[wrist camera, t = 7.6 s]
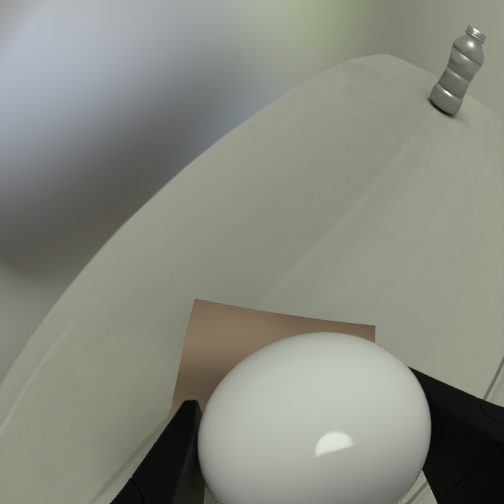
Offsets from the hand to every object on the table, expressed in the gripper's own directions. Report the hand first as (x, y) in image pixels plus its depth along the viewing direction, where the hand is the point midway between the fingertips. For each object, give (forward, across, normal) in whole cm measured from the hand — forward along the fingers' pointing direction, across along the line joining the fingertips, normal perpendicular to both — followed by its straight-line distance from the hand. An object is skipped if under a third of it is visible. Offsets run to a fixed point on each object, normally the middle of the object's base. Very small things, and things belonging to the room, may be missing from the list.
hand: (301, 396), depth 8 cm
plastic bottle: (+34, -40, -20) cm, 57 cm away
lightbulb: (+4, 0, +6) cm, 7 cm away
